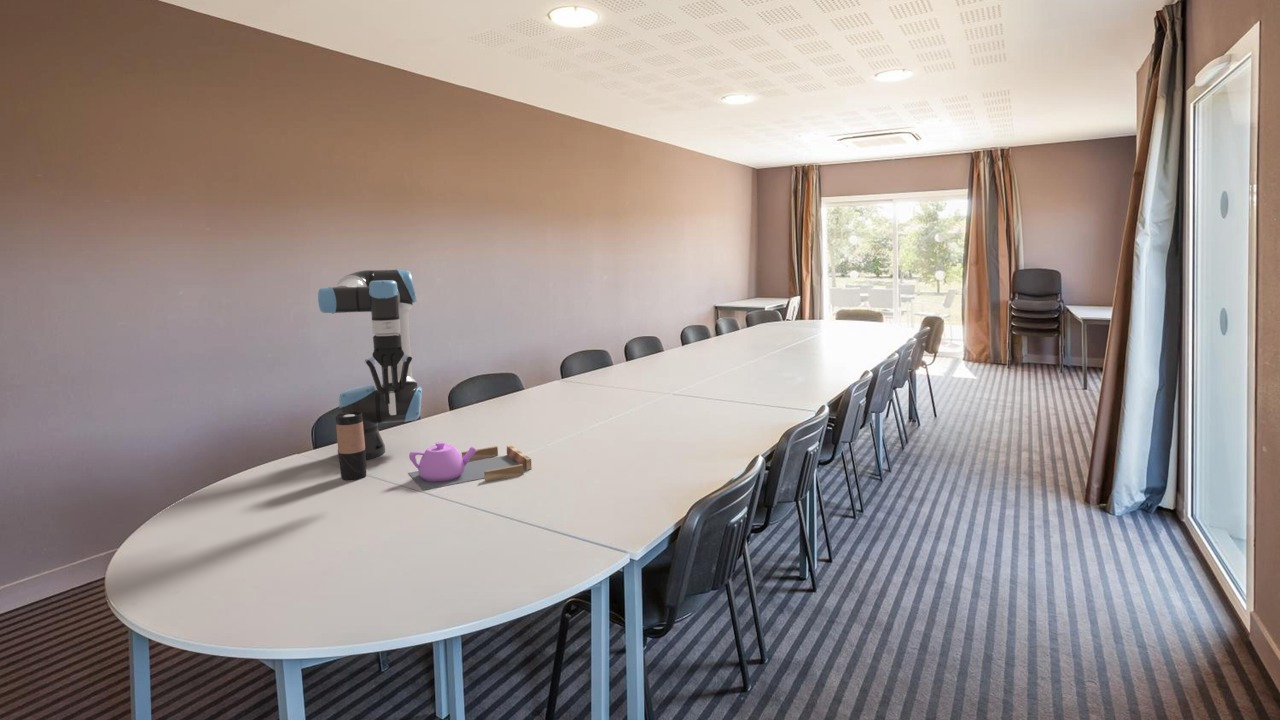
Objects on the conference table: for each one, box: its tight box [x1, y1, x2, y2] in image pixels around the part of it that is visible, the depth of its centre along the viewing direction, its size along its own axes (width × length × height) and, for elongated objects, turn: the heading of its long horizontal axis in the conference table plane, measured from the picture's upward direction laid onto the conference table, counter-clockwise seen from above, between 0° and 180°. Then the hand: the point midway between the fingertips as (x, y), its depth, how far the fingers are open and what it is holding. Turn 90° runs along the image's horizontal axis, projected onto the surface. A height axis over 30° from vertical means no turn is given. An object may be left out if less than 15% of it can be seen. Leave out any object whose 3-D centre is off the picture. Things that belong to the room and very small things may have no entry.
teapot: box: [408, 441, 477, 482], centre depth 199 cm, size 14×20×11 cm
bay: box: [461, 444, 533, 483], centre depth 209 cm, size 24×16×4 cm, turn 32°
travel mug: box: [335, 412, 367, 482], centre depth 198 cm, size 8×8×20 cm
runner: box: [408, 454, 531, 491], centre depth 204 cm, size 18×34×1 cm, turn 122°
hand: (392, 414), depth 189 cm, fingers closed
